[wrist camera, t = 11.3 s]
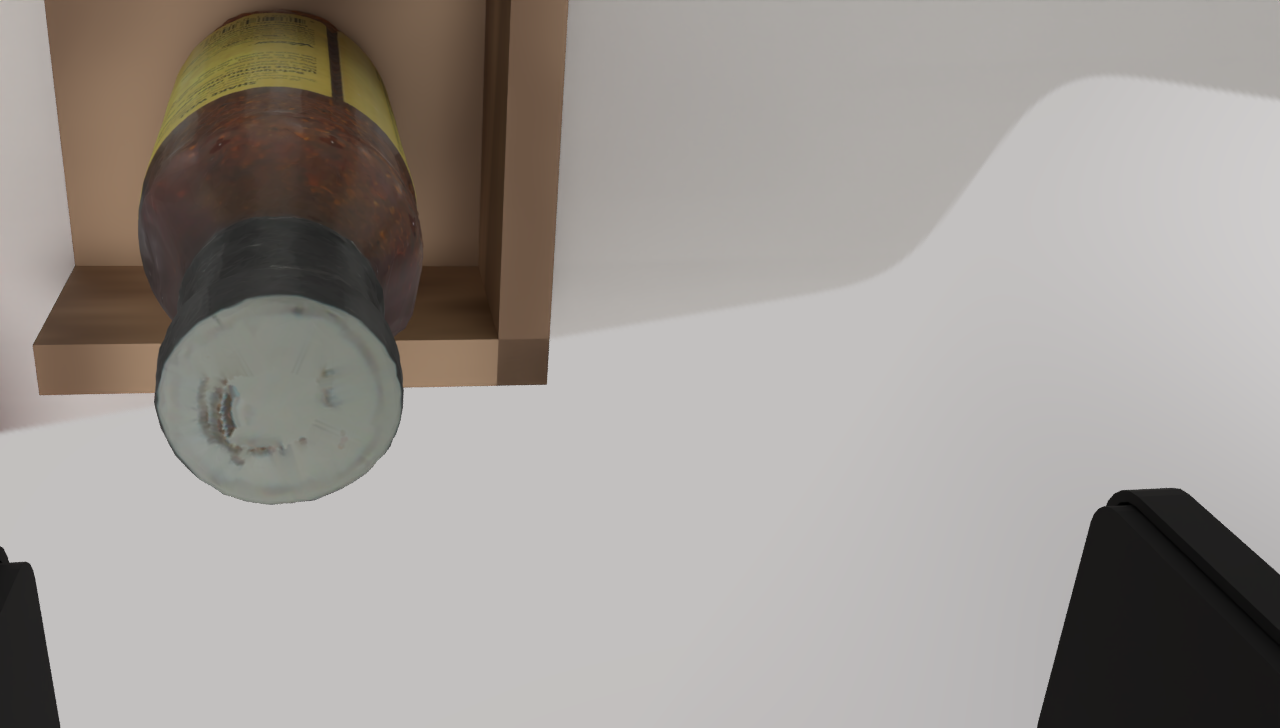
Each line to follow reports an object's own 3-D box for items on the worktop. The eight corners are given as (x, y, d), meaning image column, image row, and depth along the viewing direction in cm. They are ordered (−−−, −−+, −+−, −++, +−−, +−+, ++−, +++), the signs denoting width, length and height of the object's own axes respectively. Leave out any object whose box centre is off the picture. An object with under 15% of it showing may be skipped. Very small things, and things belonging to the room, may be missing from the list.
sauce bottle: (143, 143, 37) (-32, 472, 20) (236, -42, 35) (136, 139, 18) (341, 241, 40) (343, 610, 22) (437, 74, 38) (518, 330, 21)
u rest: (535, -117, 37) (573, -94, 31) (516, 309, 43) (546, 399, 37) (35, -153, 34) (-33, -136, 28) (87, 312, 40) (41, 411, 34)
